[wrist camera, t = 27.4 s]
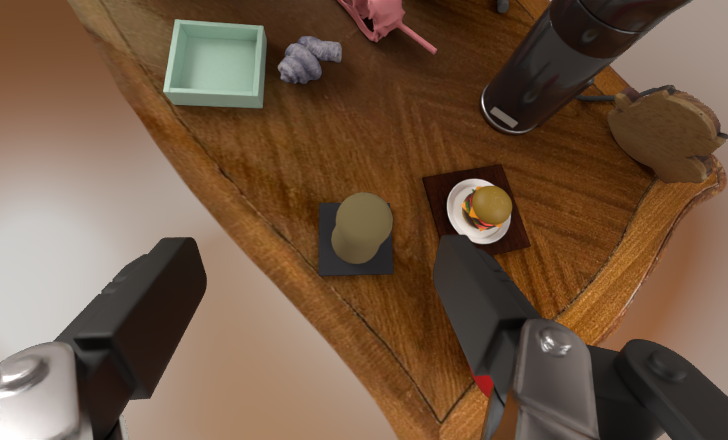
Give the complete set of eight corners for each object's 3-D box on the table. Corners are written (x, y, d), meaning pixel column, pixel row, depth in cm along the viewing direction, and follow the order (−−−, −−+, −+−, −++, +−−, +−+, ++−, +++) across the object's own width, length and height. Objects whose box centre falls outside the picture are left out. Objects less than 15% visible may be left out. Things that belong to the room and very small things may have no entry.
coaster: (388, 204, 37) (389, 203, 36) (392, 274, 35) (393, 273, 34) (319, 204, 36) (319, 202, 35) (318, 276, 34) (318, 275, 33)
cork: (390, 243, 35) (415, 222, 24) (351, 274, 34) (360, 265, 23) (360, 206, 36) (371, 170, 25) (321, 234, 34) (316, 208, 24)
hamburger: (499, 165, 41) (525, 146, 35) (528, 246, 38) (561, 239, 33) (422, 178, 38) (438, 160, 33) (447, 265, 36) (469, 260, 30)
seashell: (333, 58, 44) (285, 96, 41) (316, 19, 40) (262, 59, 38) (354, 58, 40) (302, 100, 38) (338, 16, 36) (278, 60, 34)
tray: (267, 41, 42) (263, 25, 39) (262, 108, 39) (258, 96, 36) (184, 35, 40) (175, 19, 38) (173, 104, 37) (162, 91, 35)
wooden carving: (678, 177, 44) (775, 144, 34) (664, 195, 42) (761, 167, 33) (595, 105, 45) (666, 54, 36) (580, 121, 44) (649, 73, 35)
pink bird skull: (442, 53, 45) (461, 3, 39) (427, 72, 41) (445, 19, 35) (308, -2, 48) (308, -55, 43) (282, 11, 44) (278, -46, 39)
